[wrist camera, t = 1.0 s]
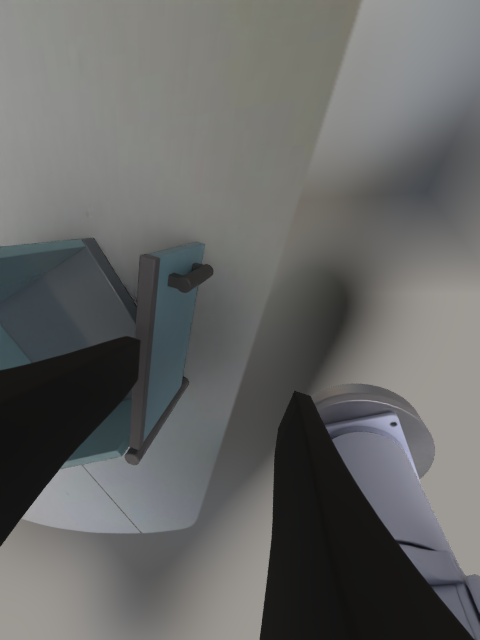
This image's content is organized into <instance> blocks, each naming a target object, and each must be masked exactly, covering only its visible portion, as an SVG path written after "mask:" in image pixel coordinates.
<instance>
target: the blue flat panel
mask: <svg viewBox="0 0 480 640" xmlns="http://www.w3.org/2000/svg"><path fill="white" fill-rule="evenodd" d="M204 247H205V244H202V243H199V242H195V243H191V244H187V245H183V246H179V247H175V248H171V249H167V250H162V251H158V252H154V253H150V254H143V255H140V262H139V280H138V297H137V315H136V333H135V339H139V340H141V344H140V359H139V374H138V380H137V382H136V383H135V385H134V386H133V387H132V404H131V422H130V440H129V447H131V448H134V449H137V450H139V449H140V448H141V447H142V445H143V442H144V441H145V439H146V438H147V436H148V435H149V433H150V432H151V430H152V429H153V427H154V426H155V424H156V423H157V421H158V420H159V418H160V417H161V415H162V414H163V412H164V411H165V409H166V408H167V406H168V405H169V403H170V402H171V400H172V399H173V397H174V396H175V394H176V393H177V392H178V390H179V389H180V387H181V384H182V378H183V372H184V366H185V360H186V354H187V348H188V342H189V336H190V330H191V324H192V318H193V313H194V307H195V301H196V295H197V289H198V285H199V284H201V283H202V282H204V281H205V280H206V279H208V278H209V277H211V276H212V275H213V268H212V267H211V266H210V265H208V264H205V265H202V259H203V253H204Z"/></svg>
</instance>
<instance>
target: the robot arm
mask: <svg viewBox="0 0 480 640" xmlns="http://www.w3.org/2000/svg"><path fill="white" fill-rule="evenodd" d="M140 344H141V340H139V339H135V338H132V337H129V336H124V337H120V338H116V339H113V340H110V341H106V342H103V343H100V344H97V345H93V346H90V347H87V348H84V349H80V350H77V351H74V352H70V353H67V354H63V355H60V356H56V357H52V358H49V359H45V360H41V361H38V362H34V363H30V364H26V365H22V366H17V367H13V368H8V369H4V370H0V546H1V545H2V543H3V542H4V541H5V540H6V538H7V537H8V535H9V534H10V533H11V531H12V530H13V529H14V527H15V526H16V524H17V523H18V522H19V520H20V519H21V518H22V517H23V515H24V514H25V513H26V511H27V510H28V509H29V507H30V506H31V505H32V504H33V502H34V501H35V500H36V498H37V497H38V496H39V494H40V493H41V492H42V491H43V489H44V488H45V487H46V485H47V484H48V483H49V482H50V480H51V479H52V478H53V477H54V476H55V474H56V473H57V472H58V471H59V469H60V468H61V467H62V466H63V464H64V463H65V462H66V461H67V459H68V458H69V457H70V456H71V455H72V454H73V453H74V452H75V450H76V449H77V448H78V447H79V446H80V445H81V444H82V443H83V442H84V441H85V440H86V439H87V438H88V437H89V436H90V435H91V434H92V432H93V431H94V430H95V429H96V428H97V427H98V426H99V425H100V424H101V423H102V422H103V421H104V420H105V419H106V418H107V417H108V416H109V415H110V414H111V413H112V411H113V410H114V409H115V408H116V407H117V406H118V405H119V404H120V403H121V402H122V401H123V400H124V398H125V397H126V396H127V394H128V393H129V392H130V390H131V389H132V387H133V386H134V385H135V383H136V382H137V380H138V374H139V359H140ZM391 422H394V423H391ZM260 640H480V576H478V575H475V574H474V575H469V576H466V575H465V574H464V573H463V571H462V570H461V568H460V567H459V564H458V562H457V560H456V558H455V556H454V554H453V552H452V550H451V547H450V545H449V543H448V541H447V539H446V537H445V535H444V533H443V531H442V529H441V527H440V524H439V522H438V520H437V518H436V516H435V514H434V512H433V510H432V508H431V505H430V503H429V501H428V499H427V497H426V495H425V493H424V491H423V489H422V485H421V483H420V480H419V477H418V474H417V471H416V468H415V465H414V462H413V459H412V456H411V453H410V451H409V448H408V445H407V442H406V439H405V436H404V433H403V430H402V427H401V425H400V422H399V419H398V417H397V415H396V414H395V413H393V412H388V413H383V414H378V415H372V416H367V417H362V418H357V419H352V420H346V421H341V422H336V423H331V424H325V425H324V423H323V421H322V419H321V417H320V415H319V413H318V411H317V409H316V407H315V405H314V402H313V400H312V398H311V396H309V395H306V394H302V393H300V392H296V391H294V393H293V396H292V398H291V400H290V403H289V405H288V407H287V409H286V412H285V414H284V416H283V419H282V421H281V423H280V426H279V428H278V435H277V441H276V448H275V459H274V490H273V524H272V540H271V550H270V559H269V567H268V577H267V585H266V593H265V601H264V609H263V618H262V626H261V633H260Z"/></svg>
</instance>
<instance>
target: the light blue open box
mask: <svg viewBox="0 0 480 640" xmlns="http://www.w3.org/2000/svg"><path fill="white" fill-rule="evenodd" d="M136 315H137V307H136V305H135V303H134V302H133V300H132V299H131V297H130V295H129V294H128V292H127V291H126V289H125V287H124V286H123V284H122V283H121V281H120V279H119V278H118V276H117V275H116V273H115V272H114V270H113V268H112V267H111V265H110V264H109V262H108V260H107V259H106V257H105V256H104V254H103V252H102V251H101V249H100V248H99V246H98V244H97V243H96V241H95V240H94V238H87V239H75V240H65V241H55V242H44V243H34V244H24V245H13V246H3V247H0V370H4V369H8V368H13V367H17V366H22V365H26V364H30V363H34V362H38V361H41V360H45V359H49V358H52V357H56V356H60V355H63V354H67V353H70V352H74V351H77V350H80V349H84V348H87V347H90V346H93V345H97V344H100V343H103V342H106V341H110V340H113V339H116V338H120V337H124V336H129V337H132V338H135V333H136ZM188 385H189V381H188V380H187V379H186V378H184V377H183V378H182V384H181V387H180V389H179V390H178V392H177V393H176V394H175V396H174V397H173V399H172V400H171V402H170V403H169V405H168V406H167V408H166V409H165V411H164V412H163V414H162V415H161V417H160V418H159V420H158V421H157V423H156V424H155V426H154V427H153V429H152V430H151V432H150V433H149V435H148V436H147V438H146V439H145V441H144V442H143V445H142V447H141V448H140V449H139V450H137V449H134V448H131V447H130V449H129V450H128V452H127V453H126V454H125V460H126V461H127V462H128V463H129V464H131V465H137V464H138V463H139V462H140V461H141V459H142V457H143V456H144V454H145V453H146V451H147V449H148V448H149V446H150V445H151V443H152V442H153V440H154V438H155V437H156V435H157V434H158V432H159V431H160V429H161V427H162V426H163V424H164V423H165V421H166V419H167V418H168V416H169V415H170V413H171V412H172V410H173V408H174V407H175V405H176V404H177V402H178V401H179V399H180V397H181V396H182V394H183V393H184V391H185V389H186V388H187V386H188ZM131 404H132V389H131V390H130V392H129V393H128V394H127V396H126V397H125V398H124V400H123V401H122V402H121V403H120V404H119V405H118V406H117V407H116V408H115V409H114V410H113V411H112V413H111V414H110V415H109V416H108V417H107V418H106V419H105V420H104V421H103V422H102V423H101V424H100V425H99V426H98V427H97V428H96V429H95V430H94V431H93V432H92V434H91V435H90V436H89V437H88V438H87V439H86V440H85V441H84V442H83V443H82V444H81V445H80V446H79V447H78V448H77V449H76V450H75V452H74V453H73V454H72V455H71V456H70V457H69V458H68V459H67V461H66V462H65V463H64V464H63V466H62V467H61V468H60V469H64V468H69V467H73V466H78V465H83V464H88V463H93V462H98V461H103V460H108V459H112V458H117V457H121V456H122V455H123V454H124V453H125V451H126V450H127V448H128V447H129V440H130V422H131Z"/></svg>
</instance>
